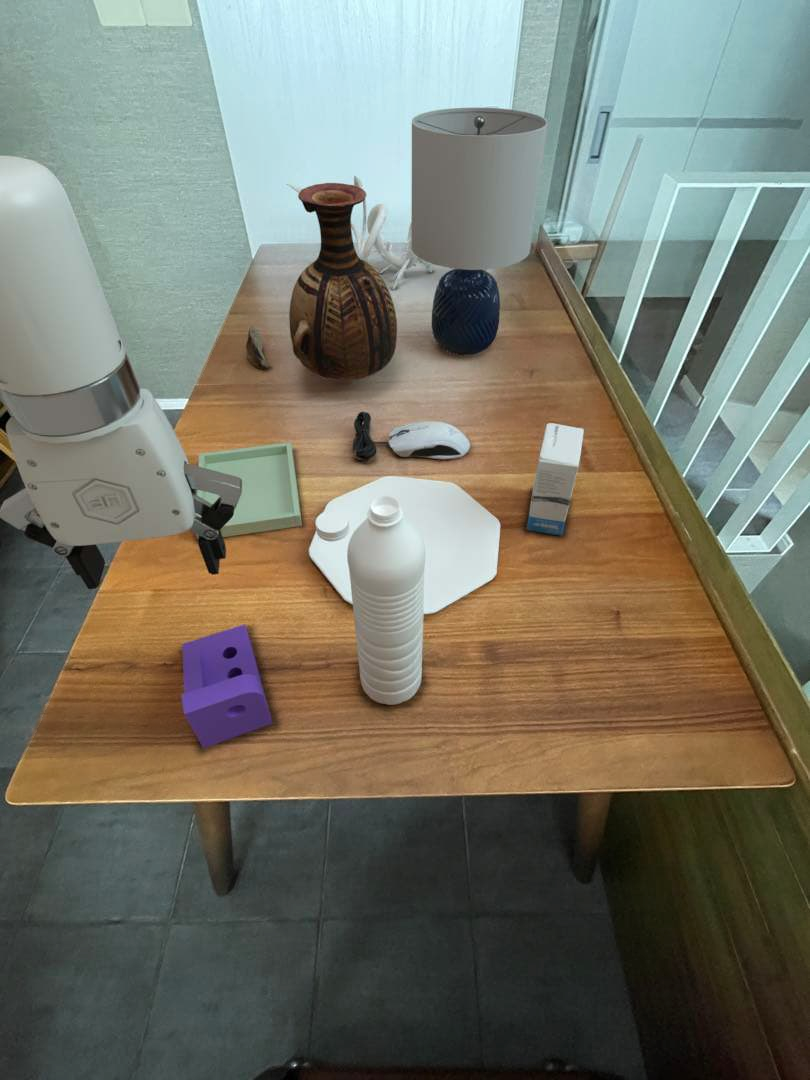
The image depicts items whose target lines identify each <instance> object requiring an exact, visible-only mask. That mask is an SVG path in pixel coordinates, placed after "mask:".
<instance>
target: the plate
mask: <svg viewBox="0 0 810 1080" xmlns="http://www.w3.org/2000/svg"><path fill="white" fill-rule="evenodd" d="M382 496H388V497H392V498H394V499H396V500H397V501H398V503H399V505H400V508H401V510H402V512H403V516H402V517H404V518H405V519H406V520H407V521H408V522H409V523H411V524H412V525H413V526H414V527H415V528H416V529H417V530H418V532H419V533H420V535H421V537H422V539H423V542H424V545H425V553H426V557H425V574H424V604H423V610H424V616H429V615H435V614H437V613H439V612H441V611H442V610H444V609H446V608H447V607H449V606H451V605H452V604H454V603H456V602H457V601H460V600H461V599H463V598H465V597H467V596H469V595H470V594H472V593H473V592H475V591H477V590H478V589H480V588H482V587H483V586H485V585H487V584H489V583H491V582H493V580H494V578H495V577H496V576H497V574H498V561H499V548H500V537H501V526H502V525H501V523H500V521H499V518H498V517H496V516H495V515H494V514H492V513H491V512H490V511H489V510H487V508H485V507H484V506H483V505H482V504H481V503H479V502H478V501H477V500H476V499H474V498H473V496H471V495H470V494H469V493H468V492H466V490H464V489H463V488H461V487H460V486H459V485H458V484H456V483H453V482H451V481H443V480H435V479H434V480H433V479H426V478H425V479H424V478H415V477H407V476H397V475H388V476H387V475H386V476H382V477H380V478H378V479H376V480H374V481H371V482H368V483H367V484H364V485H362V486H359V487H358V488H356V489H353V490H351V491H348V492H347V493H344V494H342V495H340V496H338V497H335V498H333V499H331V500H330V501H329V502H328V503H326V505H325V507H324V510H323V512H325V511H329V510H337V511H341V512H343V513H345V514H346V515H347V517H348V520H349V533H348V534H347V536H346V537H344V538H343V539H341V540H338V541H325V540H323V539H321V538H320V537H319V536H318V535H317V531H316V530H315V532H314V535H313V538H312V540H311V543H310V545H309V548H308V556H309V558H310V560H311V561H312V562H313V563H314V565H315V566H316V567H317V568H318V570H319V571H320V572H321V573H322V574H323V576H324V577H325V578H326V580H327V581H328V582H329V583H330V584H331V586H332V587H333V588H334V589H335V590H336V592H337V593H338V594H339V596H340V597H341V598H342V599H343V601H344V602H346V603H348V604H350V605H352V606H353V601H352V592H351V583H350V572H349V566H348V559H347V550H348V545H349V541H350V539H351V536H352V535H353V533H354V532H355V530H356V529H357V528H358V527H359V526H360V525H361V524H362V523H363V522H364V521H365V520H366V519H367V518H368V517H367V512H368V510H369V509H370V504H371V502H372V501H373V500H374V499H376V498H378V497H382ZM338 538H339V537H338ZM328 539H330V538H328ZM333 539H334V538H333Z"/></svg>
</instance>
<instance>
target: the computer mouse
mask: <svg viewBox="0 0 810 1080" xmlns="http://www.w3.org/2000/svg"><path fill="white" fill-rule="evenodd" d="M371 421H372V416H371V414H370V413H369V412H365V411H359V413H358V414H357V415H356V418H355V419H354V422H353V426H354V427H353V428H354V431H355V433H354V434H355V435H354V438H353V441H352V452H353V458H355V459H357V460H359V461H361V460H362V461H365V462H368V461H370V460H371V459H372V458H374V457H375V456H376V455H377V453H378V450H377V449H378V448H377V445H381V444H387V445H388V446H389V447H390V448H391V449H392V451H393V452H394V453H395V454H397V455H398V456H399V457H403V458H408V457H409V458H410V457H418V458H429V459H434V460H457V459H460V458H462V457H464V456H465V455H466V454H467V453H469V451H470V449H471V442H470V440H469V439H468V438H467V436H466V435H465V434H464V433H463V432H462V431H461V430H459V429H458V428H457V427H455V426H454V425H451V424H449V423H447V422H443V421H418V422H417V421H416V422H412V423H408V424H405V425H401V426H398V427H395V428H393V429H392V431H391V432H390V434H389V435H388V438H390V439H389V440H388V441H374V440H373V439H372V437H371V435H370V427H371Z"/></svg>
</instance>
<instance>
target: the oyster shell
mask: <svg viewBox="0 0 810 1080" xmlns="http://www.w3.org/2000/svg"><path fill="white" fill-rule="evenodd" d="M262 338H263V337H262V334H261V332H260V331H259V330H258V329H257V328H255V327H253V326H250V327H249V330H248V333H247V341H246V344H245V352H246V356H247V358H248V360H249V361H250V363H251V364H252V365H253V366H255V367H256V368H258V369H262V370H265V369H268V368H269V363H268V362H267V361H266V357H265V355H264V353H263V348H264V346H263V339H262Z"/></svg>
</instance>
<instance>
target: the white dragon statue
mask: <svg viewBox="0 0 810 1080" xmlns="http://www.w3.org/2000/svg"><path fill="white" fill-rule="evenodd" d="M286 185H287V186H288V187H289V188H291V189H292V190H294V191H295V192H297V193H298V194H299V193H300V191H301V190H302V189H303V188H300V187H299V186H296V185H295V186H294V185H292V184H288V183H286ZM353 185H354V186H357V187H360V188H361V189H363V182H362V180H361V179H360V178H358V177H357V176H356V175H353ZM366 199H367V198H365V200H364V201H363V202H362V229H361V237H360V236H359V233H358V231H357V229H356V227H355V225H354V223H353V222H352V221H351V231H352V232H353V234H354V237H355V240H356V244H357V249H358V257H359V258H360V259H361V260H363V261H365V262H367V261H368V259H369V256H370V255H371V253H377V254H378V255H379V256H380V257H381V258H382V259H383V260H385V261H386V262H387V263H388V264H389V265H388V264H387V265H386V266H385V267H384V268H383V269H382V270H380V272H378V273H379V274H380V275H381V274H382V273H384V272H385V271H386V270H388V269H390V267H394V268H396V269H398V271H397V272H396V273H395V274H394V276H392V277H391V279H394V278H396V279H395V281H394V283H393V285H392V290H395V289H396V288H397V286H398V284H399V282H400V281H401V280H402V279H403V277H404V274H405V271H406V270H408V269H410V268H412V267H416V266H417V264H415V263H416V261H418V262H419V264H423V266H424V267H425V269H427V270H428V272H430V273H432V272H433V271H432V270H433V269H432V264H431V263H429V262H426V261H424V260H422V259H420V258H419V257H417V256H416V255H415V254H414V253H413V251H412V248H411V229H412V221H411V222H410V224H409V228H408V232H407V243H406V245H405V246H404V248H402V250H401V251H402V252H405V253H403V254H402V255H401V257H400V256H398V255H396V254H395V253H393V252H392V248H393V243H391V244H390V243H389V242H387V243H386V244H385V236H384V232H383V231H382V232H381V230H382V228H383V226H384V224H385V221H386V219H387V216H388V207H387V206H386V205H385V204H383V203H379V204H378V203H377V204H376V205H374V206H373V207H372V208H371V210H370V211H369V213H368V216H367V200H366ZM366 230H367V234H368V236H367V239H366ZM380 232H381V234H380ZM403 257H404V258H403Z"/></svg>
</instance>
